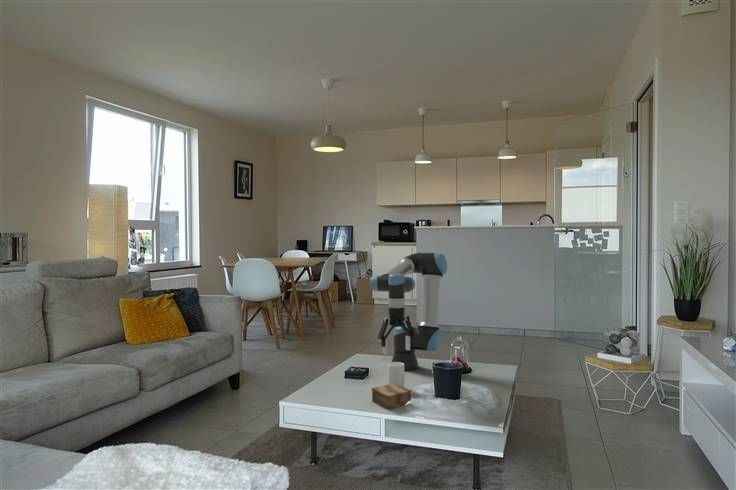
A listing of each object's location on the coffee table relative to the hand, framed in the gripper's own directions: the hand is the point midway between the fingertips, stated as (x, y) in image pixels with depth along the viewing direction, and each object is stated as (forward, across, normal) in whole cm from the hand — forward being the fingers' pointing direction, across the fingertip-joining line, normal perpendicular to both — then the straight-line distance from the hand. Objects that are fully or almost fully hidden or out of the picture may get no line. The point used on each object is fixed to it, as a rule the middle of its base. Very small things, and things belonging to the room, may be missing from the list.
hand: (396, 351), depth 228 cm
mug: (+18, 0, 0) cm, 18 cm away
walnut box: (+18, +13, +13) cm, 26 cm away
